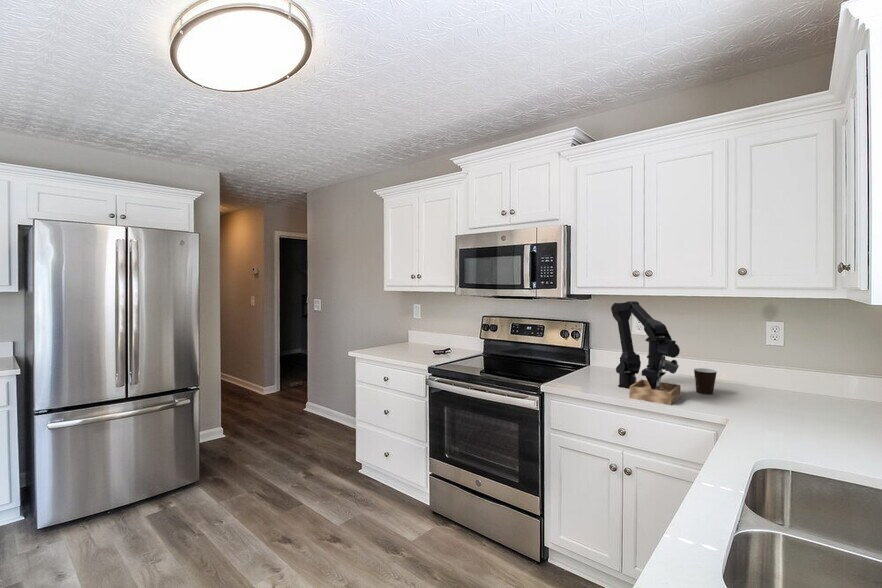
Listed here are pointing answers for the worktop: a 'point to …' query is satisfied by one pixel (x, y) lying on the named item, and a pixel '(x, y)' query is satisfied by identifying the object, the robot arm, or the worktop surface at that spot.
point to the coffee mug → (705, 380)
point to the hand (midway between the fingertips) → (655, 389)
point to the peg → (658, 384)
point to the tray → (655, 392)
